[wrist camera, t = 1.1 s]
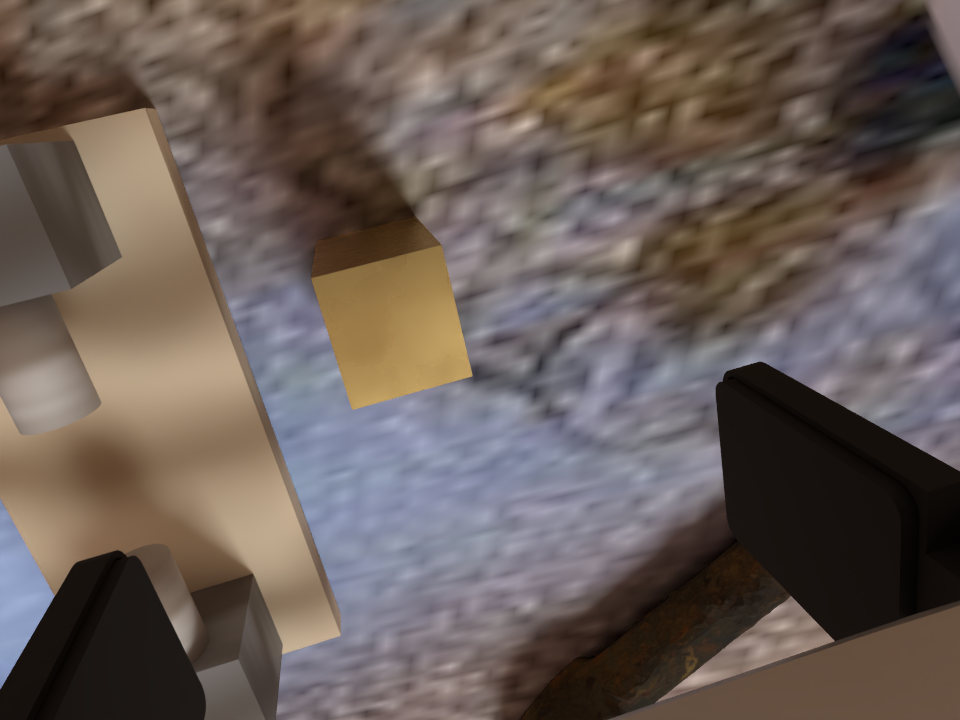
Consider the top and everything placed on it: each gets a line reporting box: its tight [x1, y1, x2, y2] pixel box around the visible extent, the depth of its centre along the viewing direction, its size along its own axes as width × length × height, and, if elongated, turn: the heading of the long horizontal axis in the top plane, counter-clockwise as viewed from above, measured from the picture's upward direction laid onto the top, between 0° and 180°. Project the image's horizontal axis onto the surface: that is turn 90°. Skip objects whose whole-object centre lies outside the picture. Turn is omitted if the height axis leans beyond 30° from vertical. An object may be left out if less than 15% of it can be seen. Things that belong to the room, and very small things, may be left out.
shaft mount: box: [0, 108, 341, 720], centre depth 24 cm, size 23×10×6 cm, turn 12°
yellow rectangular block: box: [311, 216, 472, 410], centre depth 24 cm, size 4×4×7 cm
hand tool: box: [521, 541, 791, 720], centre depth 34 cm, size 19×4×5 cm, turn 126°
